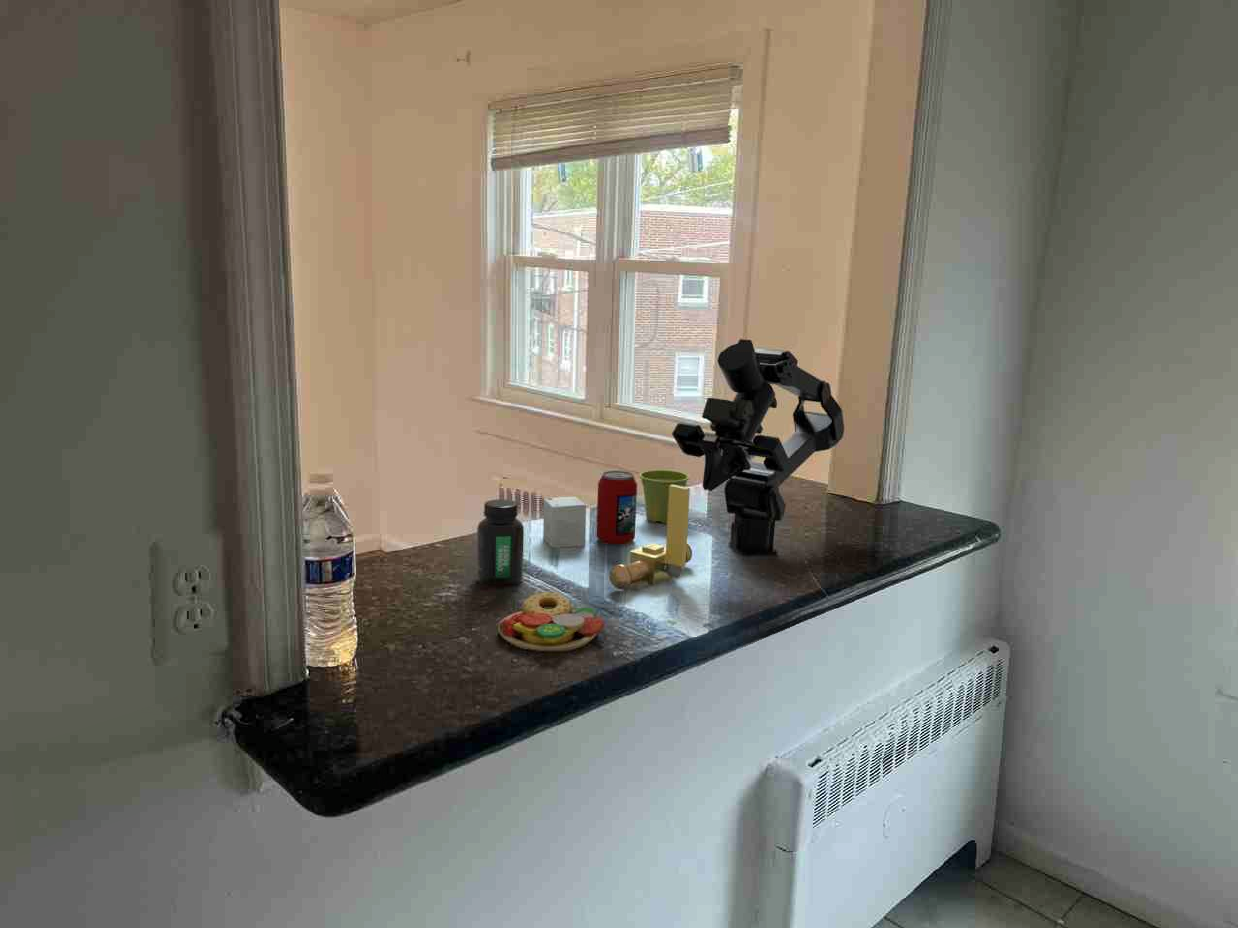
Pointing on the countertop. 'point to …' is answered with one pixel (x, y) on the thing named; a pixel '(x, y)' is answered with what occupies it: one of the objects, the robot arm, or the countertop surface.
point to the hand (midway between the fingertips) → (706, 489)
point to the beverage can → (616, 507)
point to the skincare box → (564, 522)
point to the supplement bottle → (500, 545)
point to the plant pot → (660, 491)
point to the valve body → (644, 568)
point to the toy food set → (550, 624)
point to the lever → (677, 529)
